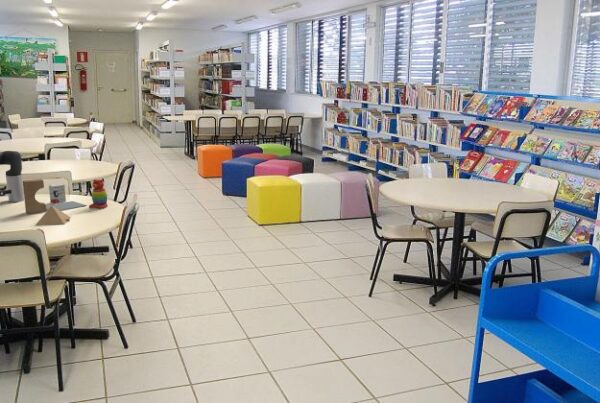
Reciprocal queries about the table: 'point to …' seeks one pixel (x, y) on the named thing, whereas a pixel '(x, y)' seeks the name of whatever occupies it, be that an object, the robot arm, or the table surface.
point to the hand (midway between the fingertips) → (8, 190)
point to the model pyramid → (53, 217)
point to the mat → (66, 205)
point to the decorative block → (33, 196)
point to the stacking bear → (98, 195)
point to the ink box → (57, 193)
